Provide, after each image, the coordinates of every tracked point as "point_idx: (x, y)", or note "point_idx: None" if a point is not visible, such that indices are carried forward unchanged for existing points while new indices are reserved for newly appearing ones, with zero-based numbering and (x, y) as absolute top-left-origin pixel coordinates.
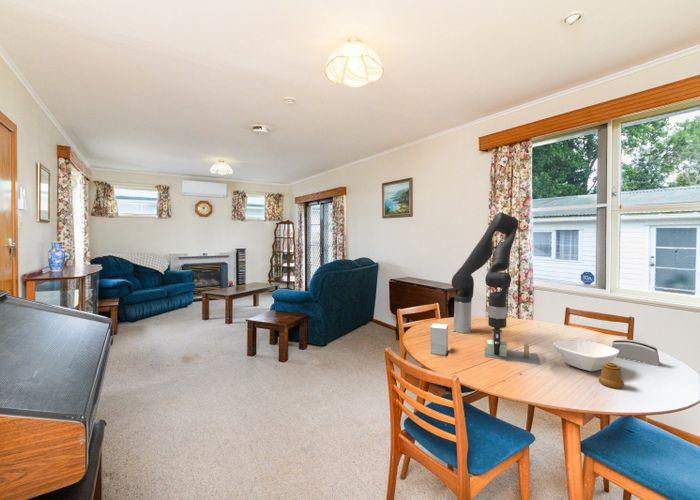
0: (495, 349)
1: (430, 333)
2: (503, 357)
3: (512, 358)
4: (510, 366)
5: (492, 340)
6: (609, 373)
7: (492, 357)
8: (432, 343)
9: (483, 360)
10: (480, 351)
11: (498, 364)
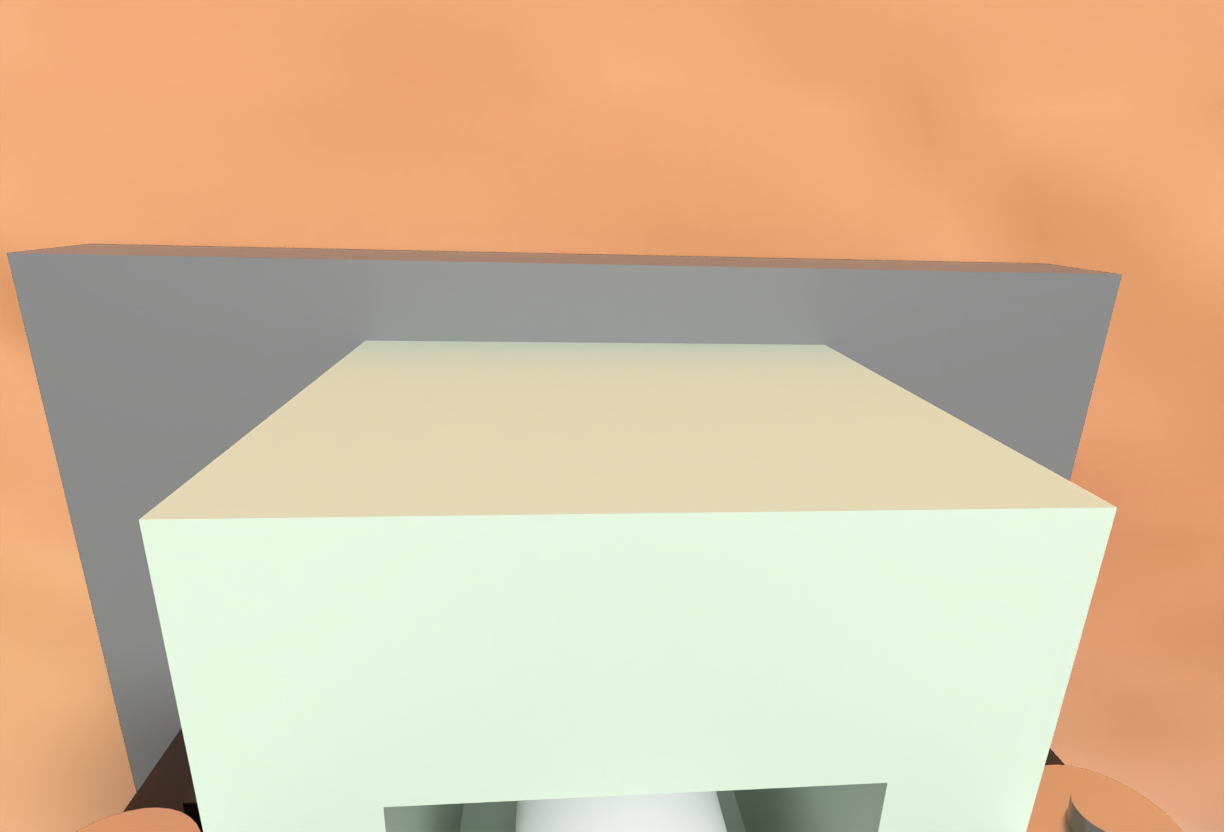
0: (166, 761)
1: None
2: None
3: None
4: (45, 829)
5: (978, 773)
6: None
7: (139, 510)
8: None
9: (74, 220)
10: (905, 116)
11: (3, 608)
